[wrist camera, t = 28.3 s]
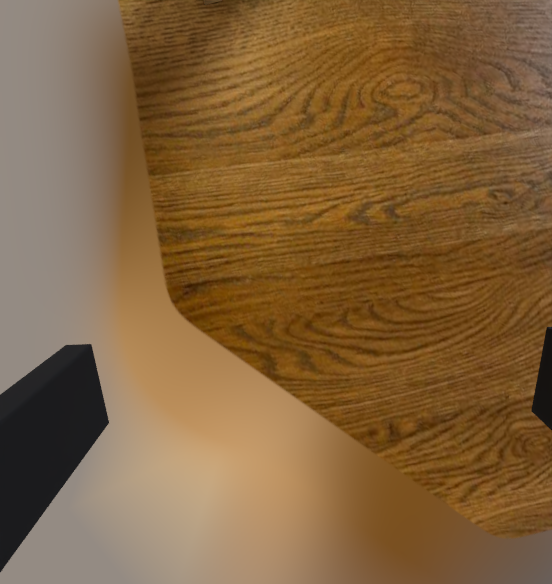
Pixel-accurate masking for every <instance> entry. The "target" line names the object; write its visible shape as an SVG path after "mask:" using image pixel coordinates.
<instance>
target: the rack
mask: <svg viewBox="0 0 552 584" xmlns="http://www.w3.org/2000/svg"><path fill="white" fill-rule="evenodd" d="M203 1H204V4H205V5H207V4H211V3H215V2H219V1H222V0H203Z"/></svg>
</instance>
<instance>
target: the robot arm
mask: <svg viewBox="0 0 552 584" xmlns="http://www.w3.org/2000/svg"><path fill="white" fill-rule="evenodd" d="M532 412H533V413H534V414H535V415H536V416H537V417H538V418H539V419H540V420H542V421H543V422H544V423H545V424H546V425H547V426H548V427H549V428H550V429H551V430H552V327H547V330H546V335H545V341H544V346H543V351H542V357H541V362H540V368H539V373H538V378H537V384H536V389H535V395H534V400H533V405H532ZM108 423H109V421H108V416H107V412H106V407H105V403H104V398H103V394H102V390H101V386H100V381H99V376H98V372H97V368H96V363H95V359H94V354H93V350H92V346H91V344H85V345H66V346H64V347H63V348H62V349H60V350H59V351H58V352H56V353H55V354H54V355H52V356H51V357H50V358H48V359H47V360H46V361H44V362H43V363H42V364H40V365H39V366H38V367H36V368H35V369H34V370H32V371H31V372H30V373H28V374H27V375H26V376H25V377H23V378H22V379H21V380H19V381H18V382H17V383H16V384H14V385H13V386H11V387H10V388H9V389H7V390H6V391H5V392H3V393H2V394H1V395H0V572H1V571H2V569H3V568H4V566H5V565H6V564H7V562H8V560H10V558H11V557H12V555H13V554H14V552H15V551H16V550H17V548H18V547H19V546H20V544H21V543H22V542H23V540H24V539H25V538H26V536H27V535H28V533H29V532H30V531H31V529H32V528H33V527H34V525H35V524H36V522H37V521H38V520H39V518H40V517H41V516H42V514H43V513H44V511H45V510H46V508H47V507H48V506H49V504H50V503H51V502H52V500H53V499H54V497H55V496H56V495H57V493H58V492H59V491H60V489H61V488H62V487H63V485H64V484H65V483H66V481H67V480H68V478H69V477H70V476H71V474H72V473H73V472H74V470H75V469H76V467H77V466H78V465H79V463H80V462H81V460H82V459H83V458H84V456H85V455H86V454H87V452H88V451H89V450H90V448H91V447H92V445H93V444H94V443H95V441H96V440H97V439H98V437H99V436H100V434H101V433H102V432H103V430H104V429H105V427H106V426H107V425H108Z"/></svg>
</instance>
